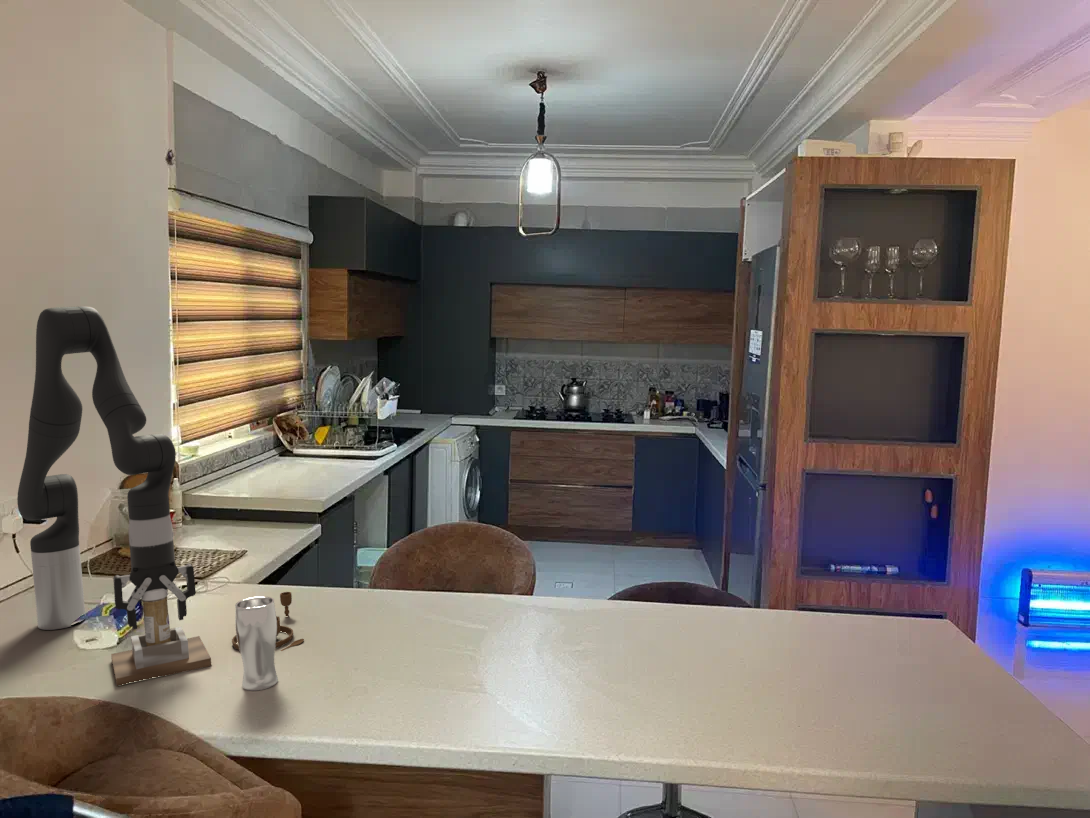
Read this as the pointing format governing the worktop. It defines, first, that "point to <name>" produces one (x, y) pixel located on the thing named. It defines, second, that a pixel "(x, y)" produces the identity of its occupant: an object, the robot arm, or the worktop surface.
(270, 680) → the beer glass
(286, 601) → the place setting
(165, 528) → the robot arm
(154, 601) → the sprinkles bottle
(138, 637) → the socket
